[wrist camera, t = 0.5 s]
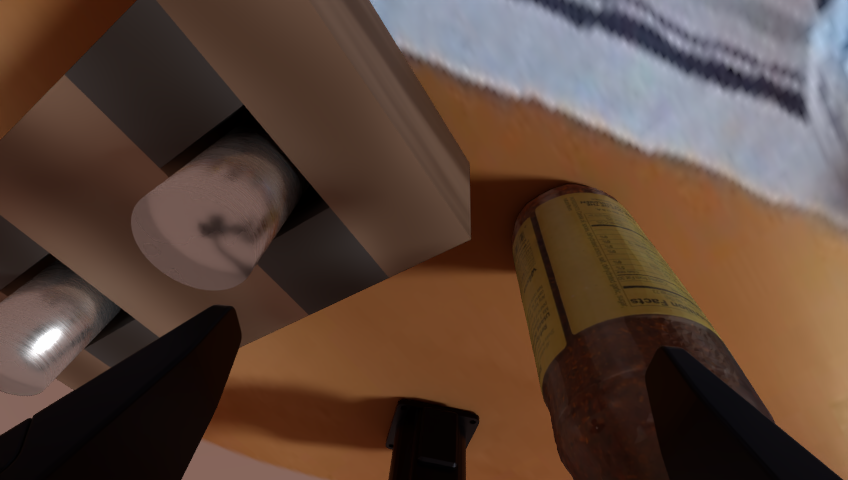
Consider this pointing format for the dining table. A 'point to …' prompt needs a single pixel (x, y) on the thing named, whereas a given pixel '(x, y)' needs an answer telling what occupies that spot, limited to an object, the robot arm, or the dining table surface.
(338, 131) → the walnut block
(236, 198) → the peg
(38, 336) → the peg
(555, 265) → the sauce bottle
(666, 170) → the dining table surface
